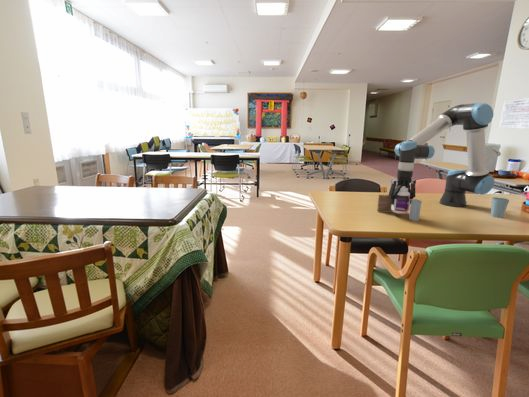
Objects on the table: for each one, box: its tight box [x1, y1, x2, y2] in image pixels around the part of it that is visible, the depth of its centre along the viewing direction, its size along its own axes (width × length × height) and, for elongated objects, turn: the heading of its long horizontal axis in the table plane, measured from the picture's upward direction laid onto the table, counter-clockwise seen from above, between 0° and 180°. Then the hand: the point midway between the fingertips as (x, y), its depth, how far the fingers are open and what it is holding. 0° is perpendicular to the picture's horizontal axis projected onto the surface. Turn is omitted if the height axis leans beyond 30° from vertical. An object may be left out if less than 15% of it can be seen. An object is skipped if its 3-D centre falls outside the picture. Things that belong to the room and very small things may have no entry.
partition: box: [408, 198, 423, 222], centre depth 166 cm, size 3×20×11 cm, turn 10°
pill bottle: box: [392, 187, 410, 214], centre depth 165 cm, size 8×8×14 cm
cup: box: [490, 196, 510, 219], centre depth 168 cm, size 8×8×10 cm
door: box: [376, 194, 394, 213], centre depth 173 cm, size 2×12×10 cm, turn 87°
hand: (399, 209), depth 166 cm, fingers closed on pill bottle, 8 cm apart
